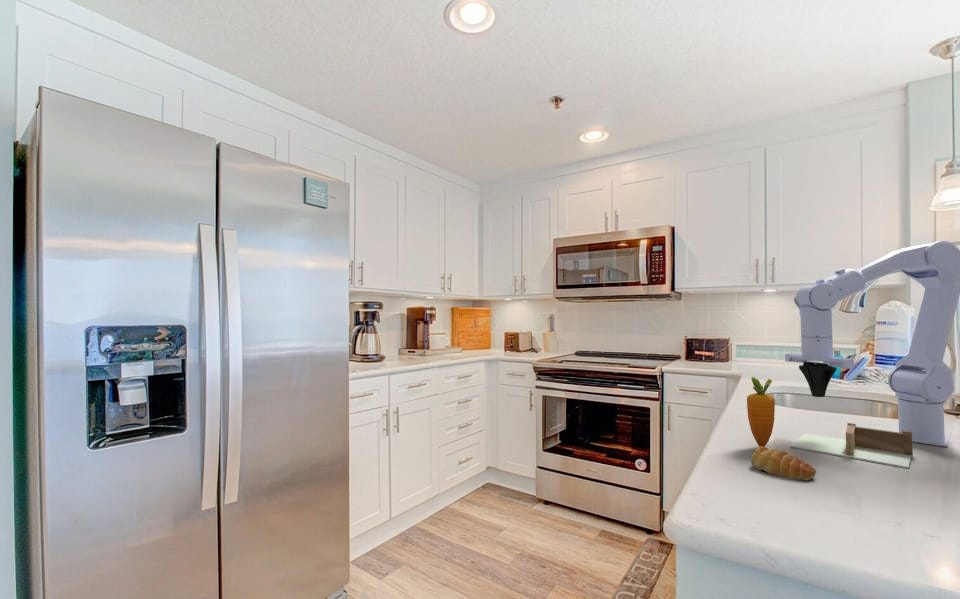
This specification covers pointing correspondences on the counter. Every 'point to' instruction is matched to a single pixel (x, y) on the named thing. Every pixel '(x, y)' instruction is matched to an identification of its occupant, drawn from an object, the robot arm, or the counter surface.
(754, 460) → the pastry
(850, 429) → the hinged panel
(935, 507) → the counter surface
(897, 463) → the card
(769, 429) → the carrot
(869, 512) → the counter surface
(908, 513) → the counter surface
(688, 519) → the counter surface
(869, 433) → the fence fixed
